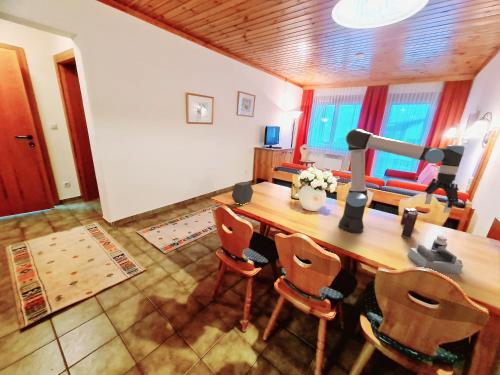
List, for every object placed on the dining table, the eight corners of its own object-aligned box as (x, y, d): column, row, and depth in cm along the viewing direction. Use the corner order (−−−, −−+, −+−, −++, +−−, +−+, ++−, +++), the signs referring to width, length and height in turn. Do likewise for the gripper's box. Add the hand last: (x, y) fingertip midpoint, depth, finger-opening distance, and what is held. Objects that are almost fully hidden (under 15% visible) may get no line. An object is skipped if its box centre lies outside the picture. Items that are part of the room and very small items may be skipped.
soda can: (414, 227, 144) (419, 211, 141) (403, 226, 145) (407, 210, 142) (409, 223, 151) (413, 208, 147) (398, 221, 152) (402, 206, 149)
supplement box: (410, 239, 127) (417, 215, 123) (400, 236, 130) (407, 213, 126) (411, 234, 133) (418, 212, 129) (402, 232, 136) (409, 209, 132)
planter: (248, 193, 184) (240, 176, 170) (255, 195, 180) (248, 178, 166) (237, 207, 176) (229, 191, 162) (244, 210, 171) (236, 193, 158)
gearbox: (423, 270, 98) (428, 256, 96) (407, 255, 109) (411, 242, 107) (468, 275, 96) (474, 260, 94) (447, 259, 108) (452, 246, 106)
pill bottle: (427, 250, 116) (433, 234, 113) (436, 250, 116) (441, 234, 114) (437, 255, 111) (442, 239, 108) (446, 255, 111) (451, 239, 109)
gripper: (476, 178, 104) (462, 217, 110) (436, 169, 128) (426, 201, 134) (461, 177, 104) (448, 216, 110) (423, 168, 128) (414, 200, 134)
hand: (436, 208), depth 122 cm, fingers open, 13 cm apart
